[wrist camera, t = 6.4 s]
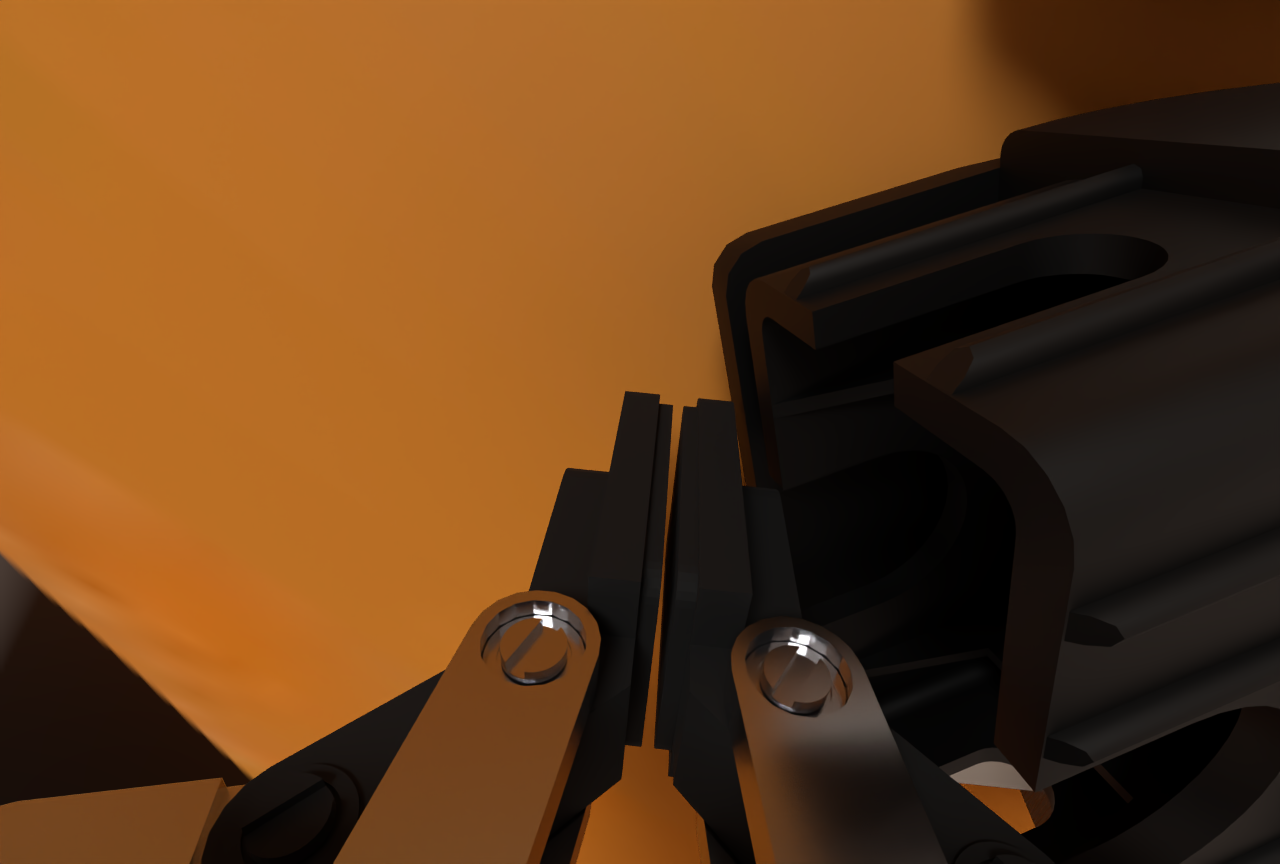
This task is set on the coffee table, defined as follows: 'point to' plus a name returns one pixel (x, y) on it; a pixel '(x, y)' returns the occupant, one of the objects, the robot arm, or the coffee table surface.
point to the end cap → (1046, 462)
